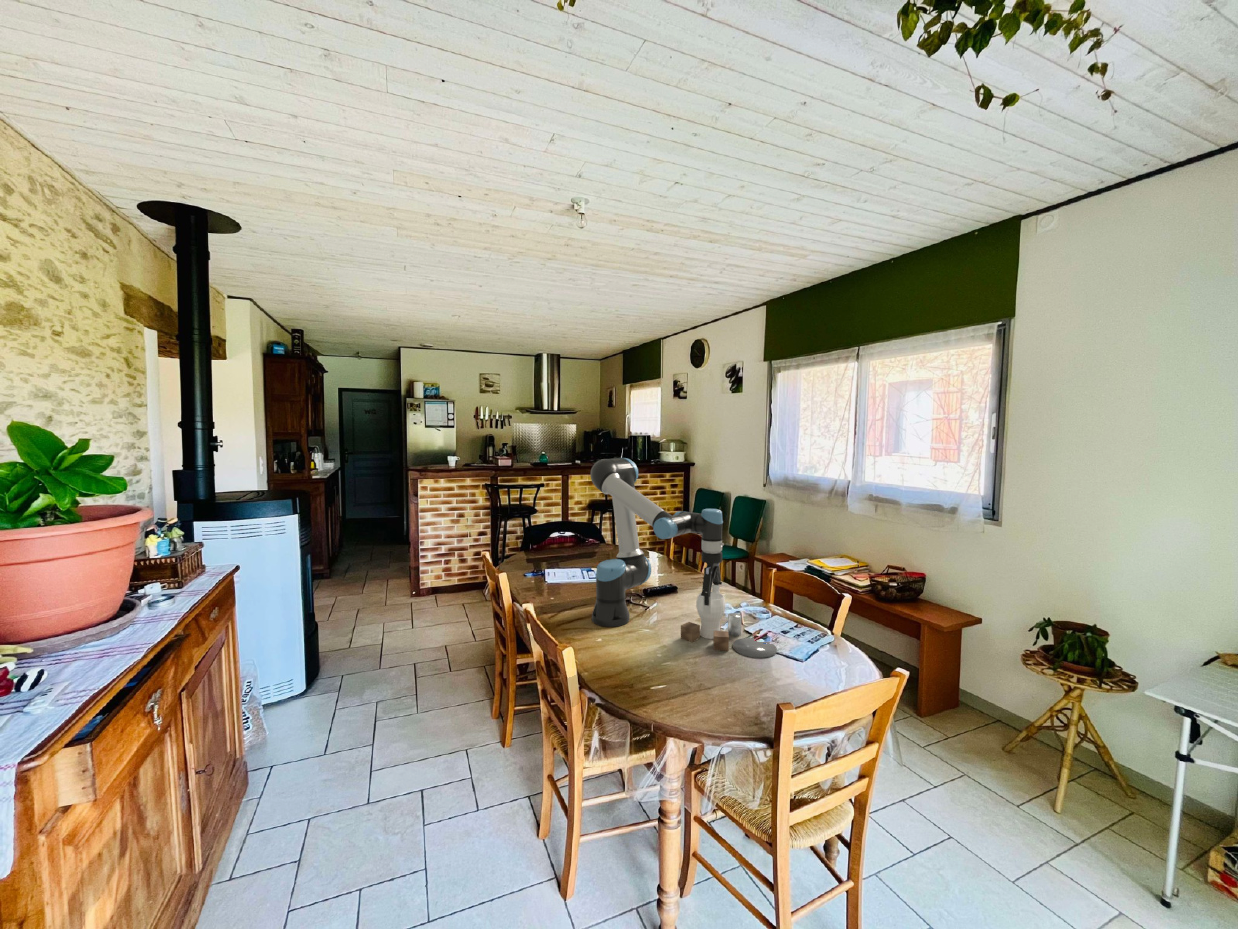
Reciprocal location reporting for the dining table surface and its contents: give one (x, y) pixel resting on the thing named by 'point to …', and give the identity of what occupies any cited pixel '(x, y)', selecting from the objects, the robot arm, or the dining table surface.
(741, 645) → the disc
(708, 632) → the cup
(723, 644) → the walnut block
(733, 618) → the grey tin
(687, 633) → the walnut block
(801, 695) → the dining table surface
